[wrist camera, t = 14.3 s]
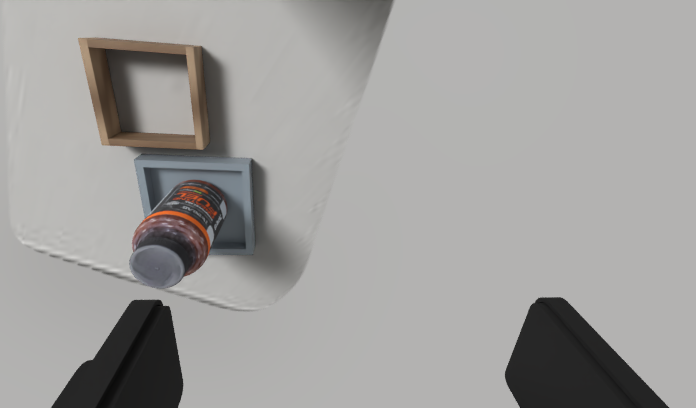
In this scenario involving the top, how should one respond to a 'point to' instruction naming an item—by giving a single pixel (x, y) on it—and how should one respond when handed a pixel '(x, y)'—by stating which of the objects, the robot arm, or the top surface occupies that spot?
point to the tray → (222, 172)
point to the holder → (106, 102)
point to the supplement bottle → (178, 234)
